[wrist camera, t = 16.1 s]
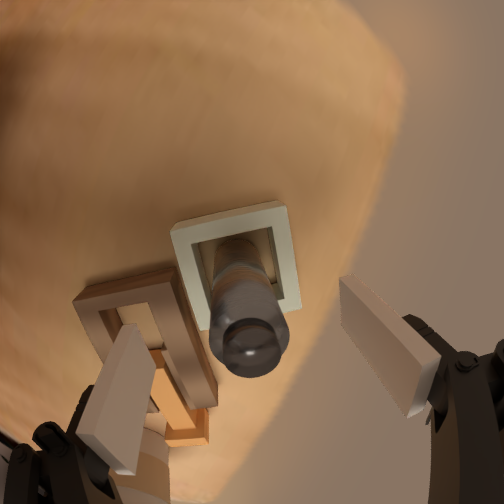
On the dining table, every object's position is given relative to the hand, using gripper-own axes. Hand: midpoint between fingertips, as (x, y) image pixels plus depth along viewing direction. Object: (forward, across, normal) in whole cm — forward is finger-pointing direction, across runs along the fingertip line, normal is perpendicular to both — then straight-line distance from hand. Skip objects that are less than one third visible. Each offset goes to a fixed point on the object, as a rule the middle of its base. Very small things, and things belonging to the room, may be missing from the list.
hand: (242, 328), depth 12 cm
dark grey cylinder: (+10, 0, 0) cm, 10 cm away
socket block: (+10, -9, -6) cm, 15 cm away
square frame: (+10, 0, 0) cm, 10 cm away
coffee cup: (+11, -18, -23) cm, 31 cm away
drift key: (+10, -9, -13) cm, 18 cm away
